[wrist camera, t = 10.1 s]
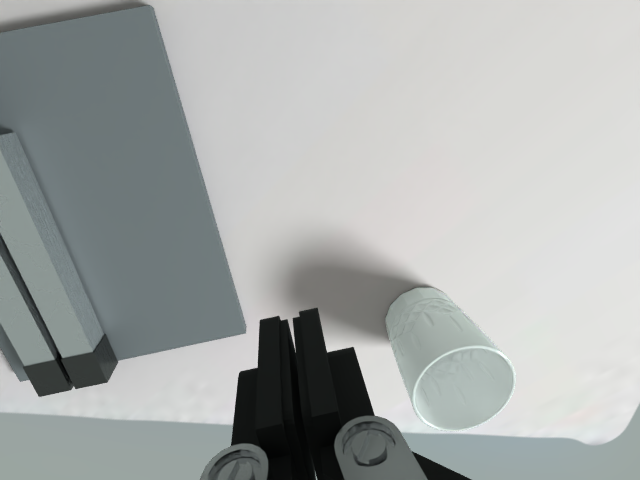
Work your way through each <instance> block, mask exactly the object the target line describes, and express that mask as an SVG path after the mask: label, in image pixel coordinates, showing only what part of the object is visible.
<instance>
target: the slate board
mask: <svg viewBox="0 0 640 480" xmlns="http://www.w3.org/2000/svg"><path fill="white" fill-rule="evenodd" d="M13 132H16V134H17V137H18V139H19V141H20V143H21V146H22V148H23V150H24V153H25V155H26V157H27V159H28V162H29V164H30V166H31V169H32V171H33V173H34V175H35V178H36V180H37V182H38V185H39V187H40V189H41V191H42V194H43V196H44V198H45V201H46V203H47V205H48V207H49V210H50V212H51V214H52V217H53V219H54V221H55V223H56V226H57V228H58V230H59V233H60V235H61V237H62V239H63V242H64V244H65V246H66V249H67V251H68V253H69V255H70V258H71V260H72V262H73V265H74V267H75V269H76V271H77V274H78V276H79V278H80V281H81V283H82V285H83V287H84V290H85V292H86V294H87V297H88V299H89V301H90V303H91V306H92V308H93V310H94V313H95V315H96V317H97V319H98V322H99V324H100V326H101V329H102V331H103V333H104V334H106V335H107V338H108V340H109V342H110V345H111V347H112V349H113V351H114V354H115V356H116V358H117V361H119V360H123V359H128V358H133V357H137V356H142V355H147V354H151V353H156V352H161V351H165V350H170V349H175V348H179V347H184V346H189V345H193V344H198V343H203V342H207V341H212V340H217V339H221V338H226V337H231V336H235V335H240V334H245V333H246V324H245V320H244V317H243V314H242V310H241V307H240V303H239V300H238V296H237V293H236V290H235V286H234V283H233V279H232V276H231V272H230V269H229V266H228V262H227V259H226V255H225V252H224V248H223V245H222V242H221V238H220V235H219V231H218V228H217V224H216V221H215V218H214V214H213V211H212V207H211V204H210V200H209V197H208V194H207V190H206V187H205V183H204V180H203V176H202V173H201V170H200V166H199V163H198V159H197V156H196V152H195V149H194V146H193V142H192V139H191V135H190V132H189V128H188V125H187V122H186V118H185V115H184V111H183V108H182V104H181V101H180V98H179V94H178V91H177V87H176V84H175V80H174V77H173V74H172V70H171V67H170V63H169V60H168V56H167V53H166V50H165V46H164V43H163V39H162V36H161V32H160V29H159V26H158V22H157V19H156V15H155V12H154V8H153V7H152V6H150V5H147V6H142V7H136V8H131V9H126V10H120V11H115V12H109V13H104V14H99V15H93V16H88V17H82V18H77V19H71V20H66V21H61V22H55V23H50V24H44V25H39V26H34V27H28V28H23V29H17V30H12V31H6V32H1V33H0V135H2V134H8V133H13ZM0 348H1V350H2V351H3V353H4V355H5V357H6V358H7V360H8V362H9V363H10V365H11V367H12V369H13V370H14V372H15V374H16V376H17V377H18V379H19V381H20V382H21V381H26V380H29V378H28V376H27V374H26V373H25V371H24V369H23V367H24V364H23V363H22V361H21V359H20V357H19V355H18V354H17V352H16V350H15V348H14V347H13V345H12V343H11V341H10V339H9V338H8V336H7V334H6V332H5V330H4V329H3V327H2V325H1V323H0Z"/></svg>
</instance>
